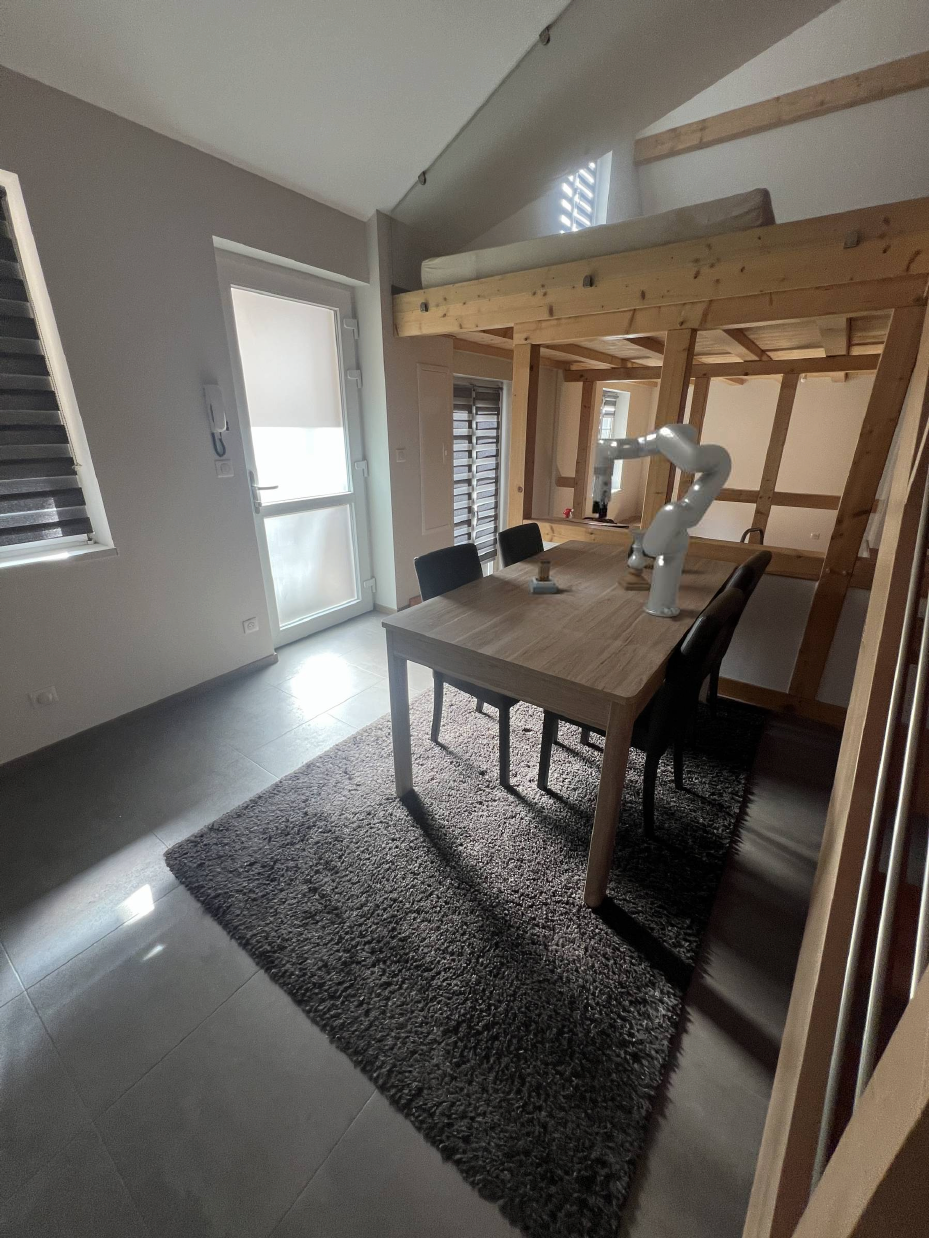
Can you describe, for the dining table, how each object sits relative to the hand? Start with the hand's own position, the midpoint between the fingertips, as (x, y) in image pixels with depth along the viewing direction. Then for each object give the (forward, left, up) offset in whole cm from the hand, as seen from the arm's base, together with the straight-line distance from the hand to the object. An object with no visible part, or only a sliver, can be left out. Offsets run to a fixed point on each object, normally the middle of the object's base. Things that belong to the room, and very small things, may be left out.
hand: (599, 515), depth 200 cm
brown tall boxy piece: (-4, +22, -29) cm, 37 cm away
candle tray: (-4, +22, -30) cm, 38 cm away
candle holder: (0, -18, -31) cm, 35 cm away
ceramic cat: (+25, -33, -31) cm, 51 cm away
